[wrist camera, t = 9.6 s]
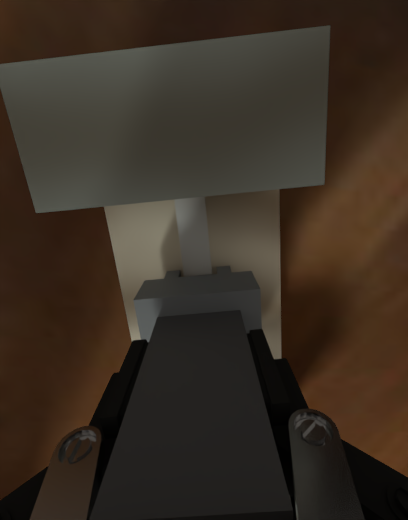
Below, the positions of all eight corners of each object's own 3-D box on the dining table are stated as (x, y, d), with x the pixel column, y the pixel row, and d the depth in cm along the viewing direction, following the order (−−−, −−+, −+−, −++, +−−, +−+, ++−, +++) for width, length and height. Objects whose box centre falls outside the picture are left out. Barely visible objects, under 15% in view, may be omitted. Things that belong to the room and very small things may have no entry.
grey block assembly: (277, 419, 22) (319, 563, 14) (156, 428, 22) (129, 574, 14) (271, 105, 15) (350, 22, 7) (96, 124, 15) (-24, 67, 7)
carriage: (251, 336, 17) (335, 620, 6) (160, 343, 18) (85, 633, 6) (248, 264, 16) (349, 469, 5) (148, 272, 16) (23, 491, 5)
